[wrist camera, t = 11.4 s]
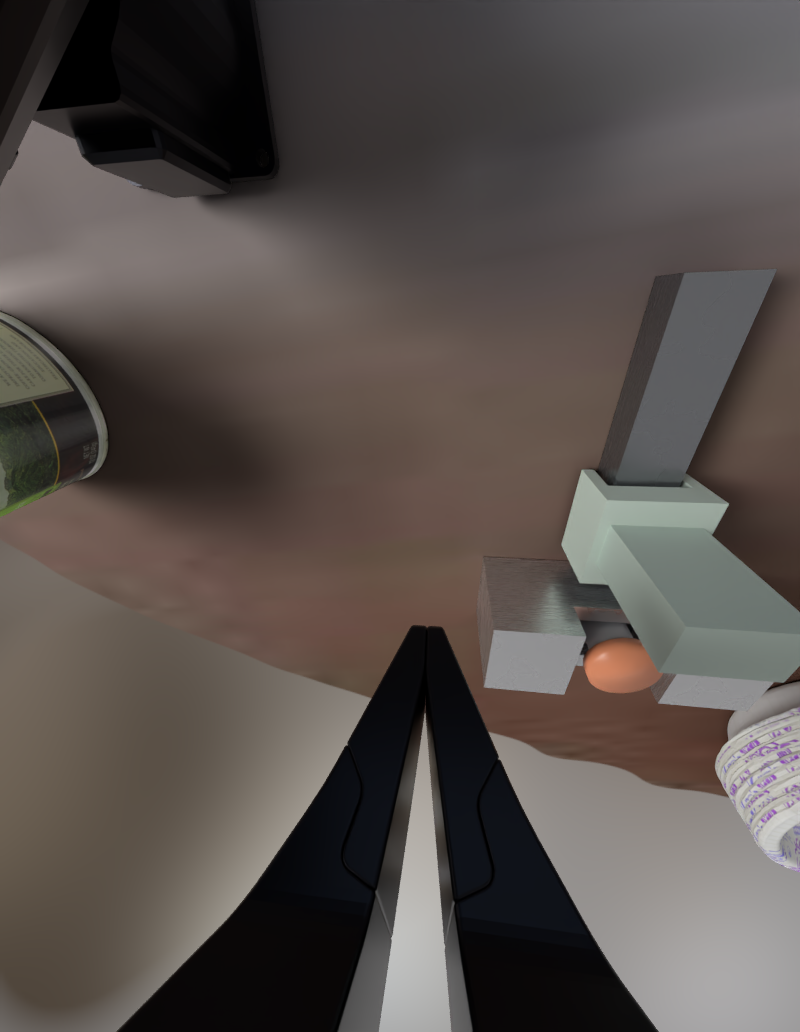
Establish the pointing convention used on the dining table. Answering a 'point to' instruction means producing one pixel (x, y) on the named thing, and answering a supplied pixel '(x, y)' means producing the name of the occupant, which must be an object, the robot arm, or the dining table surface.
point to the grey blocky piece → (568, 635)
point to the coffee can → (43, 419)
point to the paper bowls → (767, 771)
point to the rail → (679, 373)
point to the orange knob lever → (616, 658)
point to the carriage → (681, 580)
